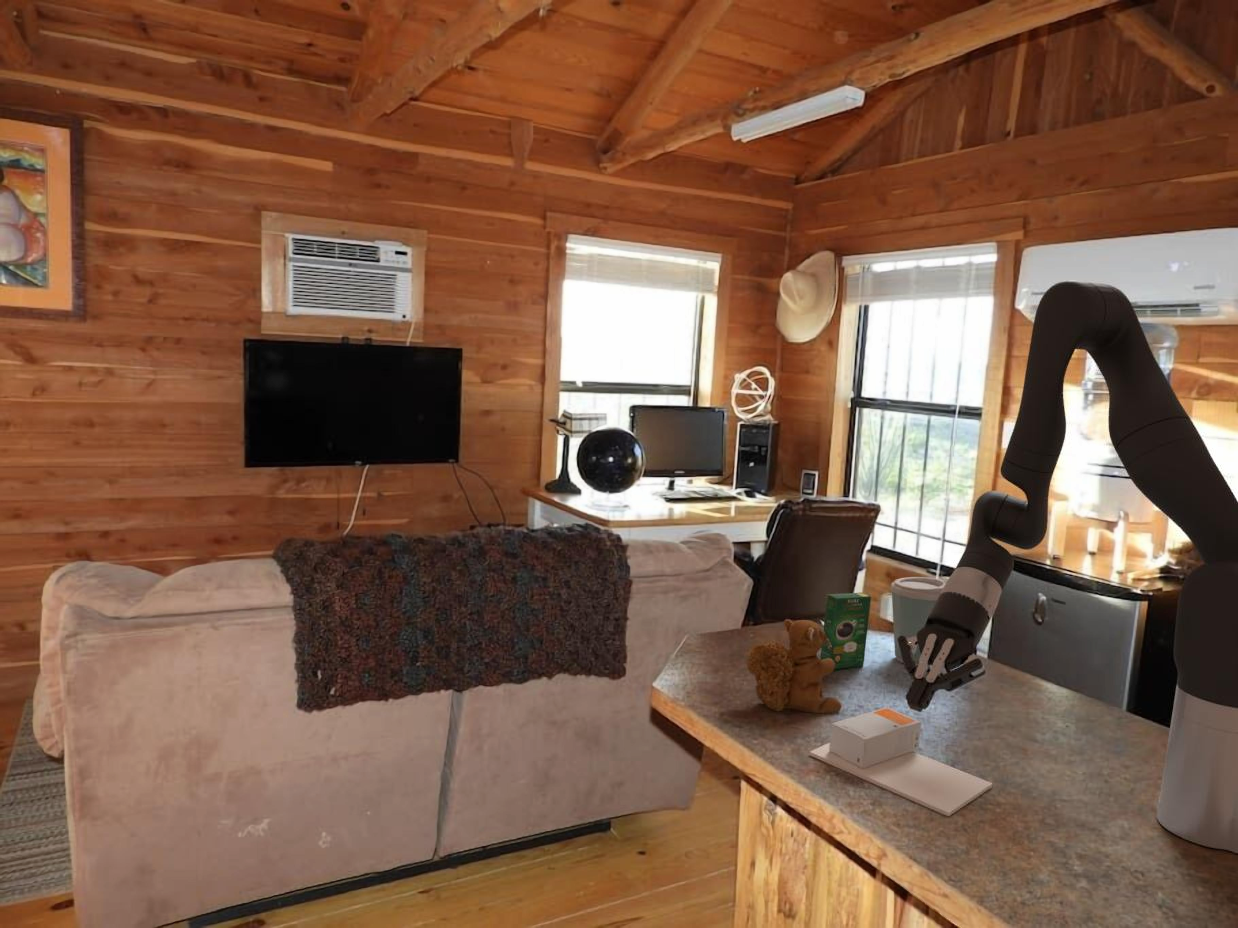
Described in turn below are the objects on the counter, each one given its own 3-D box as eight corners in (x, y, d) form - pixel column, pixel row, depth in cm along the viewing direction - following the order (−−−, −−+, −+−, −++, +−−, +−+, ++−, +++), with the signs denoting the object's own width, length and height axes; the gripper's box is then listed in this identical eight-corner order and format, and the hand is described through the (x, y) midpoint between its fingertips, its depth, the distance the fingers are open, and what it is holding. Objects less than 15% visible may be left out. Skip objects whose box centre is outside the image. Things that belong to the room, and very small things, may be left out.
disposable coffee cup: (891, 668, 158) (900, 586, 156) (876, 648, 169) (884, 571, 167) (952, 672, 158) (961, 590, 156) (932, 652, 169) (941, 574, 167)
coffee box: (854, 661, 161) (861, 590, 160) (865, 666, 159) (872, 595, 157) (818, 665, 158) (825, 593, 156) (828, 671, 155) (835, 598, 154)
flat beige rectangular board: (992, 786, 116) (992, 783, 116) (948, 816, 108) (948, 812, 108) (857, 732, 131) (857, 729, 131) (809, 755, 122) (809, 751, 122)
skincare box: (922, 720, 124) (866, 739, 117) (919, 749, 125) (863, 770, 118) (886, 705, 129) (830, 722, 122) (883, 733, 130) (827, 751, 123)
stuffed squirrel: (846, 712, 138) (854, 629, 137) (768, 722, 133) (775, 636, 131) (808, 687, 147) (815, 610, 146) (734, 696, 142) (740, 615, 140)
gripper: (915, 580, 132) (862, 678, 125) (1004, 602, 122) (952, 710, 115) (929, 609, 136) (878, 705, 129) (1016, 633, 126) (967, 738, 120)
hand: (913, 707), depth 122 cm, fingers closed
